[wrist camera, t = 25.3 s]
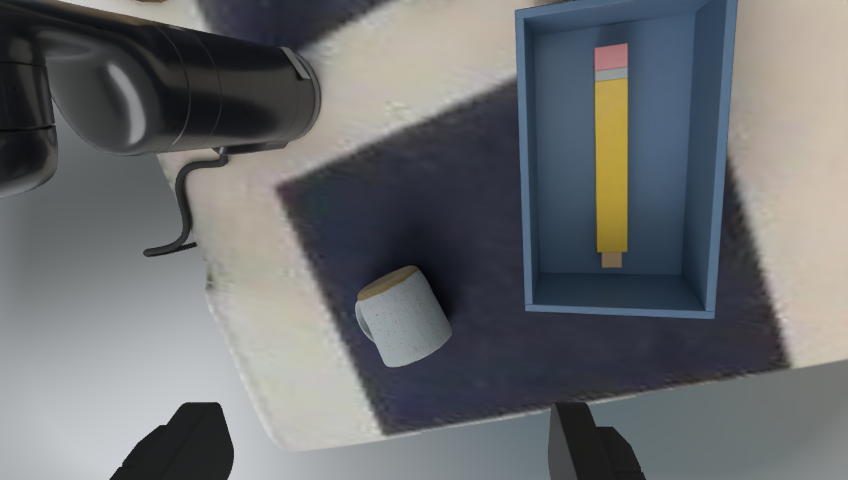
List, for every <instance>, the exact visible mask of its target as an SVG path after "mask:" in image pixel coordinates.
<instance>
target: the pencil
mask: <svg viewBox="0 0 848 480" xmlns="http://www.w3.org/2000/svg"><path fill="white" fill-rule="evenodd" d="M593 73H594V74H593V75H594V146H595V216H596V248H597V252H601V264H602V268H621V267H622V252H627V240H628V43H624V44H617V45H611V46H604V47H597V48H594V51H593Z"/></svg>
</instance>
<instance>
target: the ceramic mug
mask: <svg viewBox="0 0 848 480" xmlns="http://www.w3.org/2000/svg"><path fill="white" fill-rule="evenodd" d="M355 311H356V316H357V319H358V322H359V325H360V327H361V329H362V330H363V331H364V333H365V334H366V336H367V337H368V338H369V339H370V340H372V341H373V342H375V343H376V345H377V348H378V350H379V352H380V354H381V357H382V359H383V361H384V363H385V365H386V366H388V367H399V366H403V365H407V364H409V363H412V362H414V361H417V360H419V359H421V358H424V357H426V356H428V355H429V354H431V353H432V352H434V351H435V350H436V349H438V348H440V347H441V346H442V345H443V344H444V343H445V342H446V341H447V340H448V339H449V338H450V337H451V335H452V328H451V326H450V324H449V322H448V320H447V319H446V317H445V315H444V312H443V310H442V309H441V307H440V305H439V303H438V301H437V299H436V297H435V296H434V294H433V292H432V290H431V288H430V285H429V283H428V282H427V280H426V278H425V276H424V275H423V274H422V273H421V271H420V270H419V269H418V268H417V267H415V266H412V265H411V266H406V267H403V268H401V269H398V270H396V271H394V272H392V273H389V274H387V275H385V276H383V277H381V278H379V279H377V280H376V281H374V282H372V283H370V284H369V285H367V286H365V287H364V288H363V289H362V290H360V292H359V294H358V301H357V303H356V307H355Z"/></svg>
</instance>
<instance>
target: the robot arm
mask: <svg viewBox="0 0 848 480" xmlns="http://www.w3.org/2000/svg"><path fill="white" fill-rule="evenodd" d="M51 97H52V99H53V100H54V102H55V104H56V105H57V107H58V109H59V111H60V113H61V114H62V115H63V117H64V119H65V120H66V122H67V123H68V124H69V125H70V127H71V128H72V129H73V130H74V131H75V132H76V133H77V134H78V135H79V136H80V137H81V138H82V139H83V140H84V141H86V142H87V143H88V144H90V145H91V146H93V147H94V148H96V149H99V150H100V151H103V152H105V153H108V154H113V155H118V156H138V155H148V154H157V153H168V152H178V151H186V150H197V149H207V148H212V149H213V150H214V151H215V152H217V153H218V154H220V159H219V160H214V161H197V162H192V163H189V164H187V165H185V166H184V167H183V168H182V169H181V170H180V172H179V173H178V175H177V178H176V183H175V190H176V196H177V200H178V204H179V208H180V211H181V215H182V220H183V231H182V234H181V236H180V237H179V238H178V239H177V240H176V241H175V242H173V243H171V244H169V245H166V246H162V247H157V248H151V249H147V250H145V251H144V252H143V254H144V255H145V256H146V257H155V256H161V255H166V254H171V253H175V252H179V251H183V250H187V249H190V248H193V247H197V243H196V242H192V243H189V244H185V245H182V244H183V243H184V242H185V241H186V239H187V238H188V235H189V232H190V217H189V213H188V209H187V205H186V202H185V198H184V193H183V181H184V178H185V176H186V175H187V173H189V172H190V171H192V170H194V169H198V168H213V167H221V166H224V165H226V164H227V163H228V156H229V155H235V154H245V153H253V152H259V151H267V150H275V149H283V148H285V146H286V144H287V143H288V142H289V141H294V140H296V139H299V138H301V137H302V136H304V135H305V134H306V133H307V132H308V131H309V130H310V129H311V128H312V126H313V124H314V123H315V121H316V118H317V116H318V112H319V108H320V90H319V85H318V81H317V78H316V76H315V74H314V72H313V70H312V68H311V67H310V65H309V64H308V63H307V62H306V61H305V59H304V58H302V57H301V56H300V55H299V54H297V53H295V52H294V51H291V50H290V49H289V48H286V47H274V46H267V45H262V44H258V43H254V42H249V41H244V40H239V39H235V38H230V37H225V36H221V35H216V34H211V33H207V32H202V31H197V30H193V29H188V28H183V27H179V26H174V25H169V24H164V23H160V22H155V21H150V20H146V19H141V18H137V17H133V16H128V15H123V14H118V13H113V12H108V11H103V10H98V9H94V8H89V7H85V6H80V5H76V4H72V3H67V2H63V1H59V0H0V199H1V198H5V197H9V196H13V195H17V194H20V193H23V192H27V191H29V190H32V189H35V188H36V187H38V186H40V185H42V184H44V183H46V182H47V181H48V180H50V178H51V177H52V176H53V175H54V173H55V171H56V169H57V162H58V143H57V133H56V126H55V125H54V123H55V120H54V113H53V106H52V99H51ZM233 460H234V448H233V444H232V441H231V438H230V434H229V431H228V427H227V424H226V421H225V417H224V414H223V411H222V408H221V406H220V404H219V403H217V402H192V403H191V402H187V403H184V404H183V405H182V406H180V407H179V409H178V410H177V411H176V413H175V414H174V415H173V417H172V418H171V419H170V421H169V422H168V424H167V425H160V426H158V427H157V428H156V429H155V430H153V431H152V432H151V433H150V434H148V435H147V436H146V437H145V438H143V439H142V440H141V441H140V442H138V444H137V445H136V446H135V447H134V449H133V450H132V451H131V452H130V454H129V455H128V456H127V458H126V459H125V460H124V462H123V465H122V467H119V468H118V469H117V471H116V472H115V473H114V474H113V476H112V477H111V478H110V480H227V479H228V477H229V475H230V472H231V469H232V466H233ZM548 463H549V471H550V477H551V480H646V479H645V476H644V474H643V472H641V467H640V465H639V463H638V461H637V458H636V457H635V454H634V452H633V450H632V447H631V445H630V444H629V443H628V442H627V441H626V440H625V439H624V438H623V437H622V436H621V435H620V434H619V433H618V432H617V431H616V430H615V429H614V428H613V427H596V425H595V422H594V420H593V417H592V415H591V412H590V409H589V407H588V405H587V404H586V403H585V402H558V403H552V407H551V419H550V431H549V445H548Z"/></svg>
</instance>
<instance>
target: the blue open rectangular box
mask: <svg viewBox="0 0 848 480" xmlns="http://www.w3.org/2000/svg"><path fill="white" fill-rule="evenodd" d="M737 3H738V0H574V1H568V2H562V3H556V4H549V5H543V6H537V7H531V8H525V9H519V10H515V19H516V20H515V31H516V59H517V87H518V116H519V144H520V173H521V201H522V229H523V258H524V286H525V310H526V311H540V312H564V313H587V314H611V315H634V316H658V317H681V318H705V319H714V316H715V303H716V289H717V275H718V262H719V248H720V234H721V221H722V207H723V193H724V180H725V166H726V153H727V139H728V125H729V112H730V98H731V84H732V71H733V57H734V44H735V30H736V16H737ZM624 43H628V240H627V252H622V267H621V268H602V264H601V252H597V248H596V216H595V146H594V75H593V74H594V73H593V51H594V48H597V47H604V46H611V45H617V44H624Z"/></svg>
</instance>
